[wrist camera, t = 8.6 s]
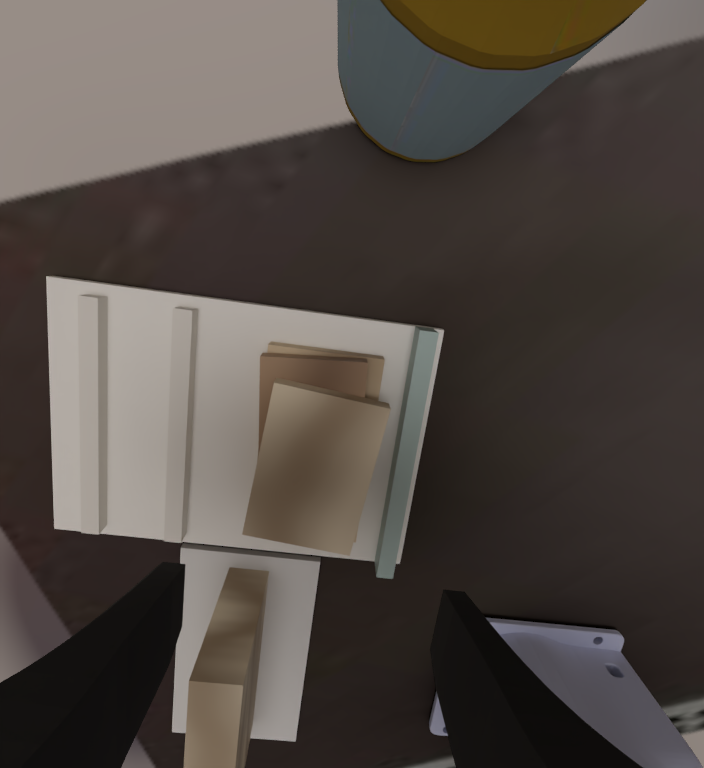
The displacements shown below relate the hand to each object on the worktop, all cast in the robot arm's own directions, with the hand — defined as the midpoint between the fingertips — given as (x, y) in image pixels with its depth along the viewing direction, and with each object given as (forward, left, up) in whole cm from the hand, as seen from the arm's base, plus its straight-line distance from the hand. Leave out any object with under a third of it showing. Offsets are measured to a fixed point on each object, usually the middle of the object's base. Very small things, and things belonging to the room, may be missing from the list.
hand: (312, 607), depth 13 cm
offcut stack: (+1, -1, -9) cm, 9 cm away
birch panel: (+3, +11, -10) cm, 15 cm away
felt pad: (+3, +12, -10) cm, 15 cm away
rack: (+4, -1, -10) cm, 11 cm away
